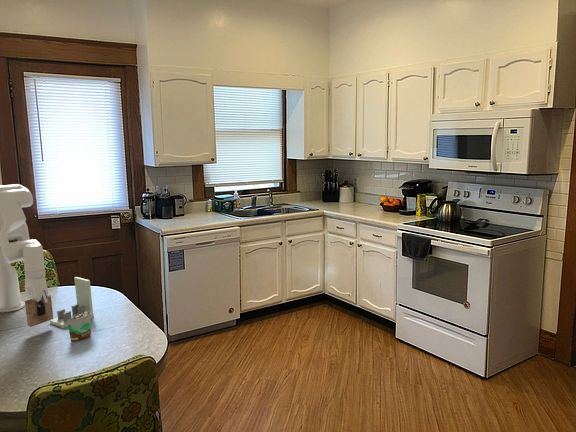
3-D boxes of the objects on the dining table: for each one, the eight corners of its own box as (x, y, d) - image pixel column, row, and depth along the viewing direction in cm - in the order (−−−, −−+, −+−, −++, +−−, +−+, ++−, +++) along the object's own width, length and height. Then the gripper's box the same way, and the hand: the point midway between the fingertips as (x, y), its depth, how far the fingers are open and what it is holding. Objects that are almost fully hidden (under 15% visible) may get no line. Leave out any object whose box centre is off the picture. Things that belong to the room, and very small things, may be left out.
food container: (82, 344, 199) (79, 320, 197) (68, 343, 200) (66, 320, 198) (99, 331, 211) (97, 309, 209) (86, 330, 212) (84, 308, 210)
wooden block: (31, 327, 207) (28, 302, 205) (27, 325, 209) (24, 301, 206) (54, 319, 215) (51, 295, 213) (50, 317, 217) (47, 293, 214)
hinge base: (63, 328, 215) (58, 289, 211) (50, 323, 220) (45, 285, 217) (93, 316, 227) (90, 280, 223) (80, 312, 232) (76, 276, 229)
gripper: (16, 271, 209) (20, 312, 213) (37, 279, 200) (41, 321, 204) (33, 267, 215) (37, 307, 219) (54, 274, 206) (58, 315, 210)
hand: (39, 313), depth 211 cm, fingers closed on wooden block, 2 cm apart
